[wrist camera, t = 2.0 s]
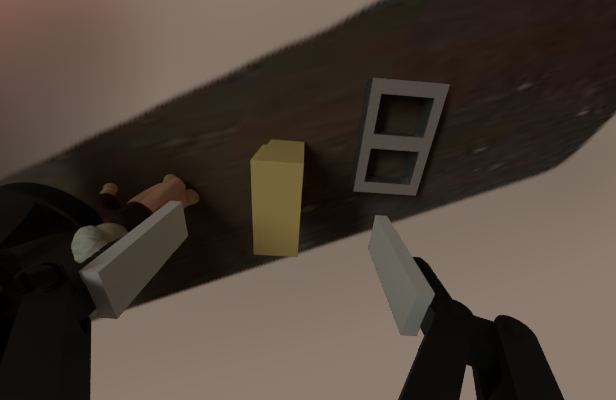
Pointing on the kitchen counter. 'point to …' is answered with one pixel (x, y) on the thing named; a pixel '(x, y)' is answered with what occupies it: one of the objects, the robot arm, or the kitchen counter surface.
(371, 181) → the grey flat frame
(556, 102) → the kitchen counter surface
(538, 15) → the kitchen counter surface
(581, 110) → the kitchen counter surface
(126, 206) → the grandmother figurine
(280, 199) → the yellow notched block
